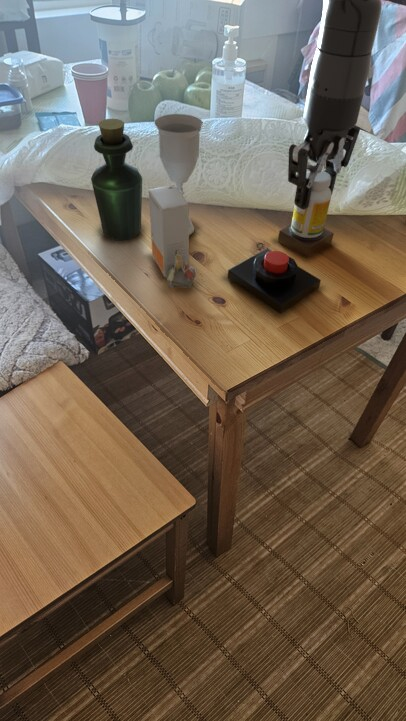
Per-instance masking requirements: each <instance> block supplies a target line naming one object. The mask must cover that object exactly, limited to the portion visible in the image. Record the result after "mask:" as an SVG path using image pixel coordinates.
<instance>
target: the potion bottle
mask: <svg viewBox="0 0 406 721" xmlns="http://www.w3.org/2000/svg"><path fill="white" fill-rule="evenodd" d="M97 124H98V128H99V131H100V134H99V135H98V136H96V138H95V140H94V143H93V144H94V145H93V148H94V151H96V152H97V153H98V154H102V157H103V159H104V162H105V163H103V164H101V165H99V166H98V167H96V168H95V169H94V171H93V173H92V176H91V177H90V181H91V185H92V190H93V194H94V198H95V202H96V208H97V211H98V214H99V220H100V224H101V229H102V232H103V234H104V235H105V236H106V237H108V238H109V239H112V240H116V241H127V240H130V239H133V238H135V237H136V236H137V235H138V234H139V233H140V232H141V230H142V208H143V206H142V205H143V176H142V173H141V172H140V171H139V169H138V168H137V167H135V165H133V164H130V163H128V162H126V158H127V157H126V156H127V153H129V152H131V151H132V150H133V148H134V145H133V143H132V140H131V137H130V136H129V135H127V133H124V131H125V122H124V120H122V119H119V118H106V119H102V120H100V121H98V123H97Z"/></svg>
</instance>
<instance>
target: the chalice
mask: <svg viewBox="0 0 406 721" xmlns="http://www.w3.org/2000/svg"><path fill="white" fill-rule="evenodd" d="M154 125H155V127H156V129H157V131H158V134H157V135H158V156H159V159H160V161H161V164H162V167H163V168H164V170H165V172H166V174H167V176H168V178H169V180H170V181H171V182H172V183H174V184H175V187H176V188H177V189H178V190H179V192H181V194H182V195H183V196H184V195H185V192H184V189H183V184H184V183H187V182H188V181H189V180H190V178H191V176H192V174H193V172H194V170H195V169H196V167H197V163H198V160H199V158H200V132H201V130H202V129H203V127H204V121H203V120H202V119H201V118H199V117H197V116H195V115H194V116H193V115H190V114H184V113H171V114H165V115H162V116H161V115H160V117H157V118H156V119H155V120H154ZM194 231H195V227H194V225H193V223H192V220H191V218H190V217H189V236H190V235H192V234H193V233H194Z"/></svg>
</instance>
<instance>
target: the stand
mask: <svg viewBox="0 0 406 721" xmlns="http://www.w3.org/2000/svg"><path fill="white" fill-rule="evenodd" d="M334 235H335V233H334V232H333V231H331V230H329V229H327V228H325V227H324V229H323V232H322V234H321V235H320V236H318V237H314V238H303V237H300V236H298V235H296V234H295V233H294V232H293V231H292V229H291V224H289V225H287V226H285V227H284V228H281V229H280V230H279V231H278V238H277V242H278V243H280V244H281V245H283V246H285V247H286V248H289V249H290V250H291V251H292V252H293V251H294V252H295V253H297V254H299V255H301V256H302V257H304V258H306V259H309V258H310V257H312V256H314V255H315V254H317V253H318V252H320V251H322V250H324V249H325V248H327V247H329V246H330V245H332V242H333V239H334Z"/></svg>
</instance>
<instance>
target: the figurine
mask: <svg viewBox="0 0 406 721" xmlns="http://www.w3.org/2000/svg"><path fill="white" fill-rule="evenodd" d="M180 257H181V254H180V252H179V250H176V253H175V260H176V262H175V265H173V266H171V267H170V268H168V270H167V272H166V276H167V277H166V279H167V280H166V281H167V282H166V284H168V287H169V288H171V289H174V288H183V289H191V287H192V286H193V284H194V283H195V282H194V281H195V279H196V277H197V272H196V268H194V266H192V265H190V264H189V265H187V264H188V263H187V261H184V264H183V261H182V257H181V258H180ZM176 258H177V259H176Z"/></svg>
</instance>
